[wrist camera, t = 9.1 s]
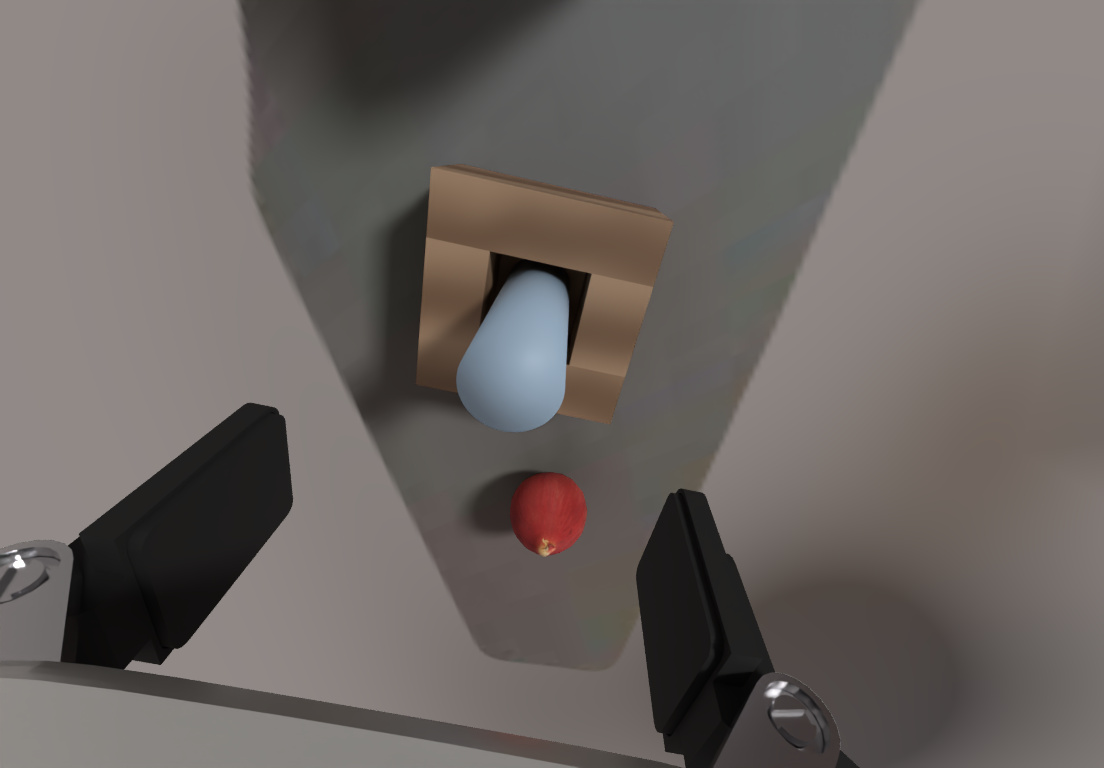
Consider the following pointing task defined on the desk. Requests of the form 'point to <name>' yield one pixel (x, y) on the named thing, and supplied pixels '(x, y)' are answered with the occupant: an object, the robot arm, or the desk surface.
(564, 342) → the pin
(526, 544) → the onion
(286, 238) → the desk surface
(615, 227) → the bore block
